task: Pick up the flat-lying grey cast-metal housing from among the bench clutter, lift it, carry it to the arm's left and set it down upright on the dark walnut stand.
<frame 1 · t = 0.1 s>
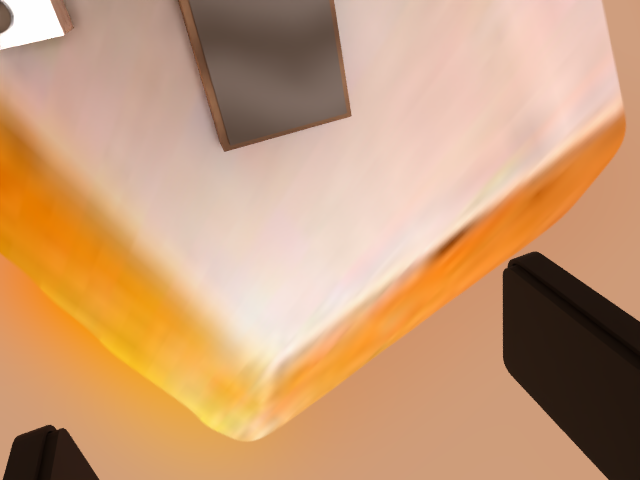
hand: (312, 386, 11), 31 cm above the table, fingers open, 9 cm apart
stand: (260, 31, 37), on the table
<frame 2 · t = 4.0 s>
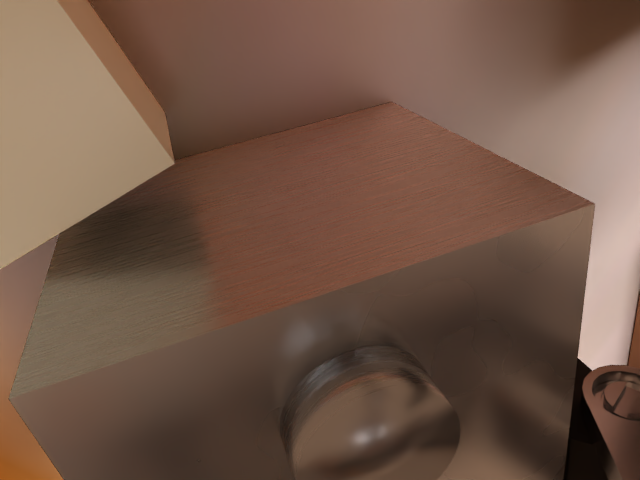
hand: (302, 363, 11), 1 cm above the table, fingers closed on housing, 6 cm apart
housing: (295, 345, 12), on the table, touching gripper
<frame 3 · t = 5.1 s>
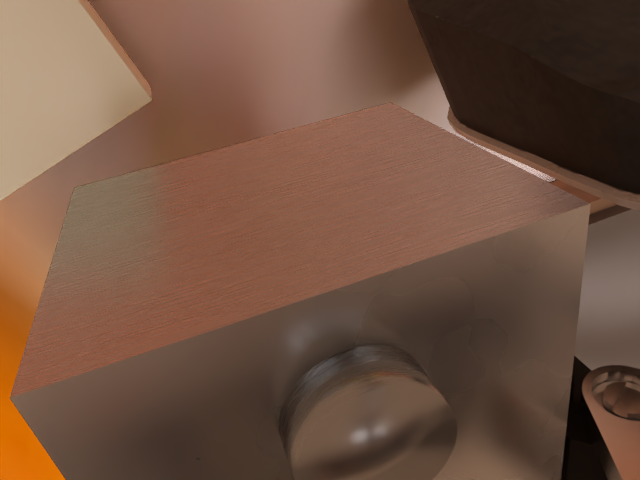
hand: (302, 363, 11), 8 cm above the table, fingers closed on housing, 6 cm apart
beige block: (17, 56, 14), on the table
stand: (581, 302, 25), on the table
housing: (294, 344, 12), point 7 cm above the table, touching gripper
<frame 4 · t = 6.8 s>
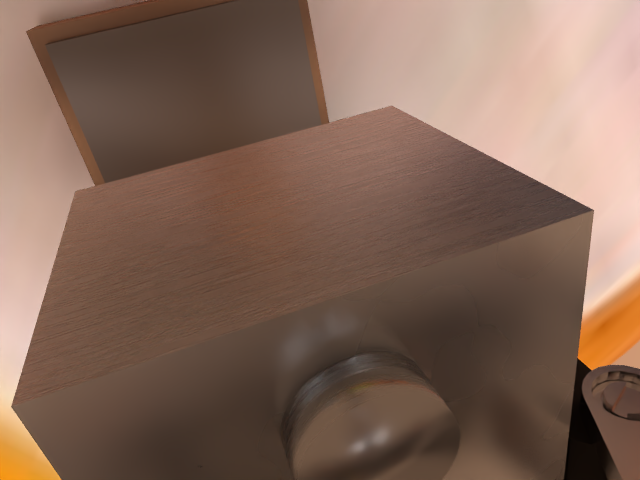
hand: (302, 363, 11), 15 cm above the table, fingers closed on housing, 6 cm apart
stand: (216, 158, 24), on the table
housing: (295, 348, 12), point 14 cm above the table, touching gripper
when the fingers open (5 cm above the table, at t = 9.4 s): housing stays where it is, resting on stand.
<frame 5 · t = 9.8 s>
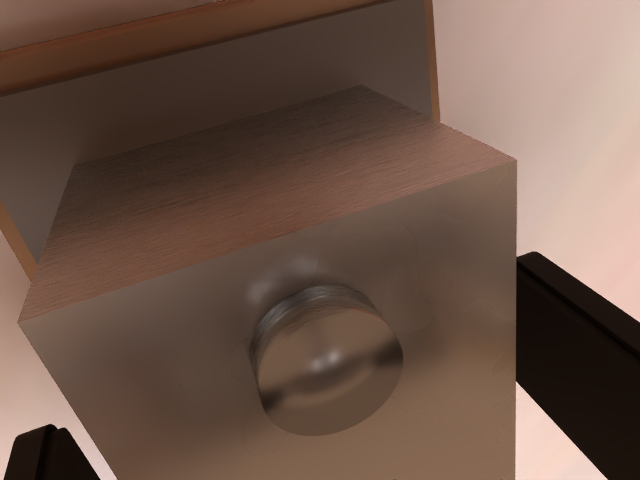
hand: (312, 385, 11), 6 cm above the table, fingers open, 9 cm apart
stand: (258, 259, 15), on the table
housing: (281, 314, 13), point 3 cm above the table, touching stand
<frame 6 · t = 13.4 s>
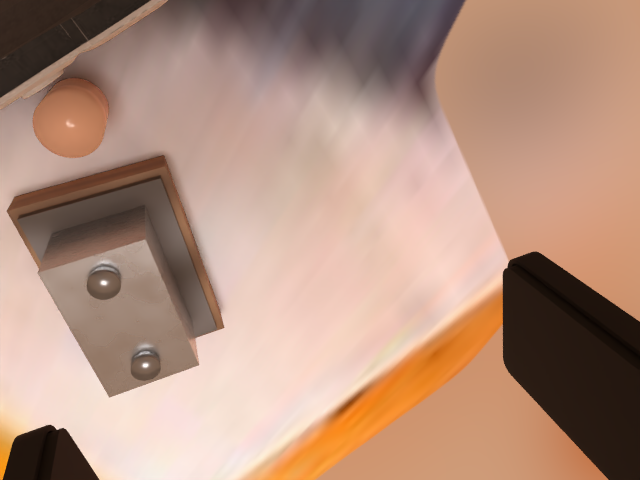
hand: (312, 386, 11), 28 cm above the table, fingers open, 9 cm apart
orange round domed part: (78, 107, 33), on the table
stand: (129, 260, 38), on the table
housing: (127, 280, 36), point 3 cm above the table, touching stand
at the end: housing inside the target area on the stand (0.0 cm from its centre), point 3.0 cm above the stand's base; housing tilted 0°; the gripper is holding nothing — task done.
